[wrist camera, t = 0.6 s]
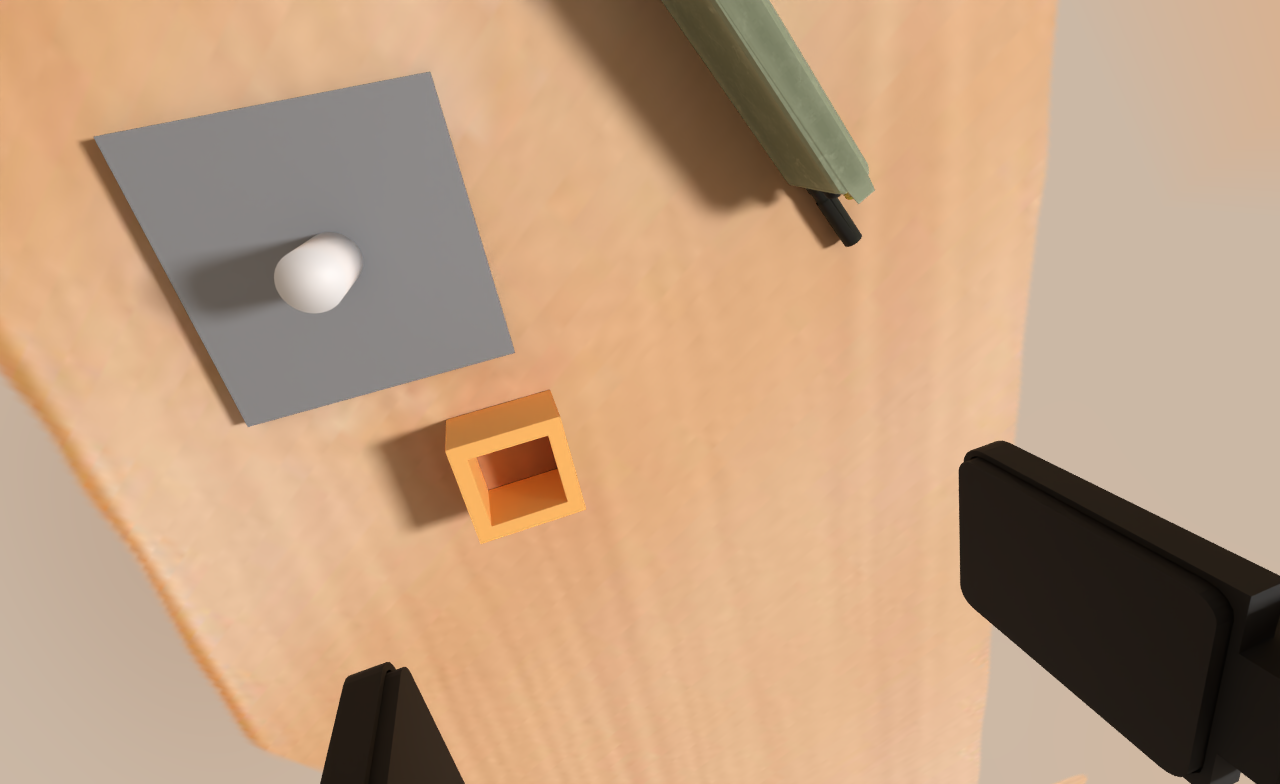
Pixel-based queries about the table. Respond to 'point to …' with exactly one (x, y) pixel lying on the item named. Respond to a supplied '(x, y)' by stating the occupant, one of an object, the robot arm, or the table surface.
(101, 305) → the table surface
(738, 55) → the handheld radio
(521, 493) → the orange open box
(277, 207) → the plate
